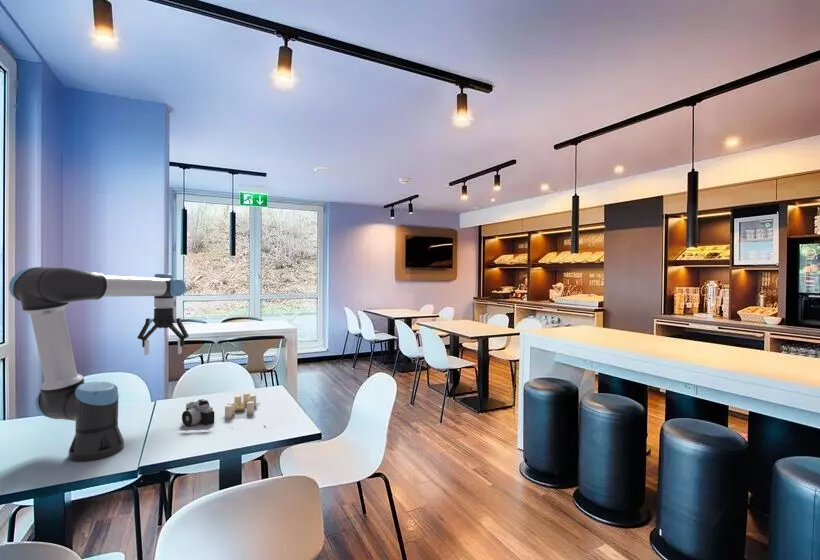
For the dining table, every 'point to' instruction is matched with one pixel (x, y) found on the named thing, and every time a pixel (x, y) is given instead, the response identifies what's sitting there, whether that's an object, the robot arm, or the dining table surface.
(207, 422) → the camera
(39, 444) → the dining table surface
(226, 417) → the board
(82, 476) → the dining table surface
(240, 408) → the nut
